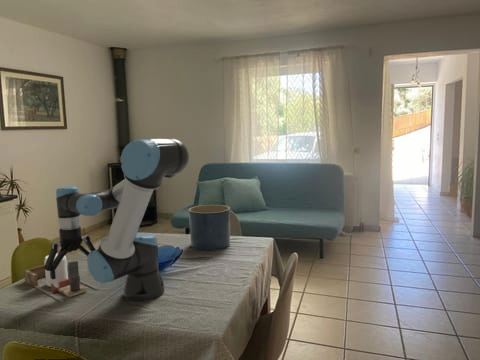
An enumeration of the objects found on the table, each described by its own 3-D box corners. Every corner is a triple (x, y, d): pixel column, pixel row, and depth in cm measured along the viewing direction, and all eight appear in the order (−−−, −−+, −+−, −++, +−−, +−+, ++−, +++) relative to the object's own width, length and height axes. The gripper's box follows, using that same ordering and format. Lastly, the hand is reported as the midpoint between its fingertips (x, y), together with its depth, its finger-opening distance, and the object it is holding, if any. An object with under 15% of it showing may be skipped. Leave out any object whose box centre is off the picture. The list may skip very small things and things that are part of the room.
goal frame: (70, 276, 159) (69, 265, 159) (35, 287, 148) (33, 275, 148) (59, 271, 166) (58, 260, 165) (24, 281, 155) (23, 270, 154)
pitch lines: (98, 289, 145) (98, 288, 145) (61, 302, 134) (61, 301, 134) (70, 276, 159) (70, 275, 159) (35, 287, 148) (34, 286, 148)
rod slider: (92, 289, 145) (89, 259, 143) (64, 299, 136) (61, 268, 135) (78, 282, 151) (76, 254, 150) (51, 292, 143) (48, 262, 141)
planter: (186, 251, 190) (185, 213, 187) (193, 239, 212) (192, 205, 209) (229, 250, 189) (228, 212, 186) (232, 238, 211) (231, 204, 208)
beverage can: (59, 288, 147) (56, 259, 145) (41, 287, 148) (39, 258, 147) (72, 280, 154) (70, 253, 153) (55, 279, 156) (53, 252, 155)
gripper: (95, 219, 151) (98, 268, 153) (30, 232, 131) (36, 289, 134) (105, 221, 146) (108, 272, 149) (39, 236, 127) (45, 294, 129)
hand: (74, 280), depth 141 cm, fingers open, 13 cm apart
